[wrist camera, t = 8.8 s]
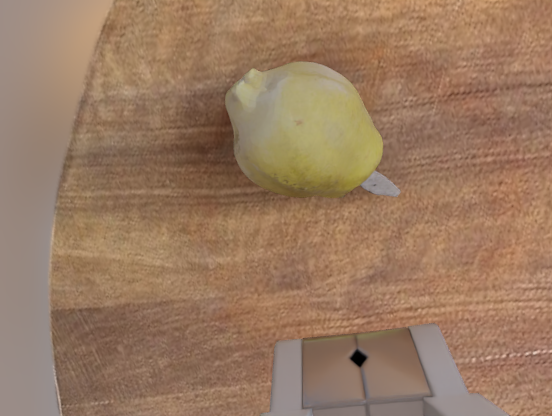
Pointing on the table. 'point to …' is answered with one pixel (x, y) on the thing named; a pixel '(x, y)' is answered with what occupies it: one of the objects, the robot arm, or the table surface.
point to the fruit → (305, 133)
